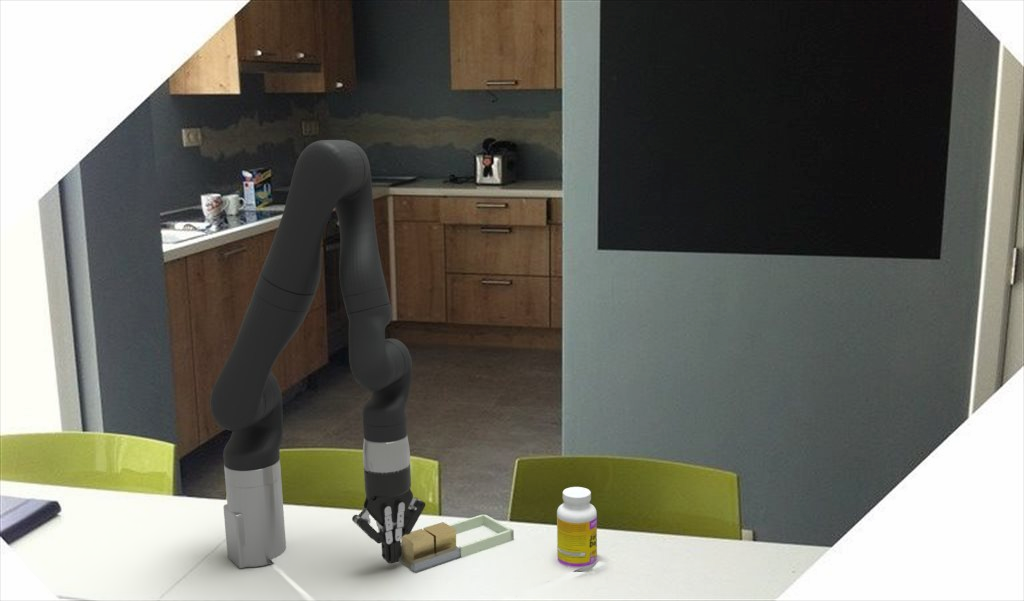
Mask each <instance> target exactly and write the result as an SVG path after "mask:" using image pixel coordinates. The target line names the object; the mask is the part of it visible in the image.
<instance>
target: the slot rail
mask: <svg viewBox="0 0 1024 601" xmlns="http://www.w3.org/2000/svg"><path fill="white" fill-rule="evenodd" d="M462 558H463V557H461V555H460V548H459V546H457V545H456V546H455V547H452V548H449V549H446V550H443V551H440V552H437V553H434V554H431V555H428V556H425V557H422V558H419V559H416V560H413V561H411V563H410V562H408V561H407V560H406V559H404V558H403V557H402V543H401V557H400V558H399V561H398V562H399V563H400V564H402V565H403V566H404V567H406V568H407V569H408V570H410V571H411V572H413V573H414V574H418V573H421V572H425V571H427V570H430V569H432V568H436V567H439V566H442V565H445V564H448V563H450V562H453V561H455V560H459V559H462Z"/></svg>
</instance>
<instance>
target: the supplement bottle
mask: <svg viewBox="0 0 1024 601" xmlns="http://www.w3.org/2000/svg"><path fill="white" fill-rule="evenodd" d="M562 500H563V502H562V504H560V505H559V506H558V507H557V510H556V530H557V531H556V538H557V539H556V541H557V542H556V543H557V546H556V547H557V548H556V551H557V553H556V556H557V561H558V564H561V565H562V566H564V567H567V568H568V567H569V568H572V569H575V570H574V572H575V573H578V572H579V573H580V572H586V571H590V570H591V569H593V568H594V567H596V565H597V560H598V538H597V537H598V536H597V535H598V534H597V533H598V532H597V531H598V528H597V527H598V526H597V525H598V522H597V521H598V515H597V514H598V513H597V512H598V511H597V509H596V507H595V506H594V505H593V504H592V503H590V502H591V500H592V492H591V490H590V489H589V488H586V487H581V486H570V487H567V488H565V489H563V491H562Z"/></svg>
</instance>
